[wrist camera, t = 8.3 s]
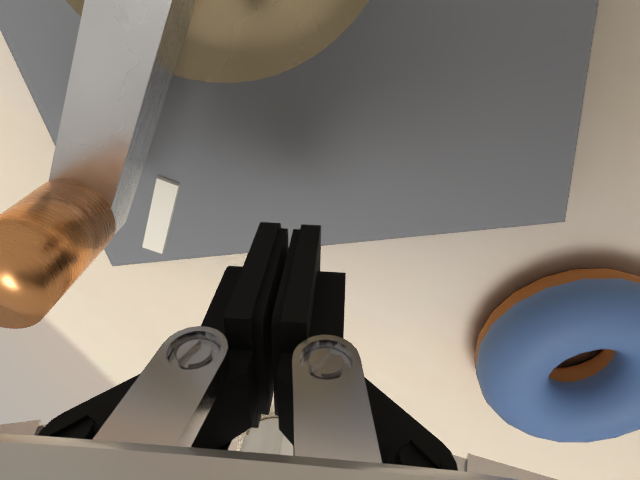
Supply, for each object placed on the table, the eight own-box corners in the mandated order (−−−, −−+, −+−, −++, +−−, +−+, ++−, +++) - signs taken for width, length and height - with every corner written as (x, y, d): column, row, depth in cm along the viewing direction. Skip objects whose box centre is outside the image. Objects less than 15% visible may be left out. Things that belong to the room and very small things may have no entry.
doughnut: (466, 267, 21) (499, 341, 17) (687, 237, 20) (770, 309, 17) (462, 390, 27) (485, 465, 23) (633, 371, 26) (686, 446, 22)
